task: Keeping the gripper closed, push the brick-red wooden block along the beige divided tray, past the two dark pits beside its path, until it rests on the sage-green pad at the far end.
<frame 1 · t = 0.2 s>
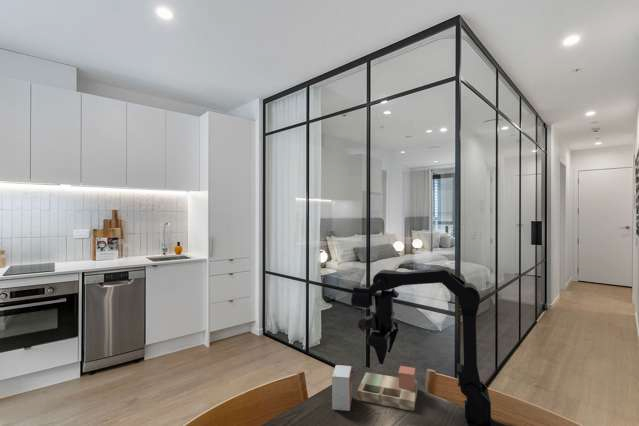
hand: (385, 357, 105), 14 cm above the table, tool pointing down, fingers open, 9 cm apart
small box: (342, 404, 104), on the table
block: (407, 385, 109), point 3 cm above the table, touching beige divided tray
beige divided tray: (388, 394, 109), on the table
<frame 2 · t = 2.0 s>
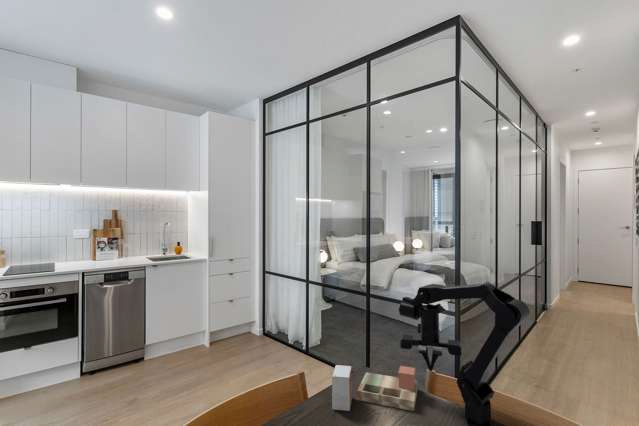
hand: (430, 370, 106), 9 cm above the table, tool pointing down, fingers closed
nothing on the table moved.
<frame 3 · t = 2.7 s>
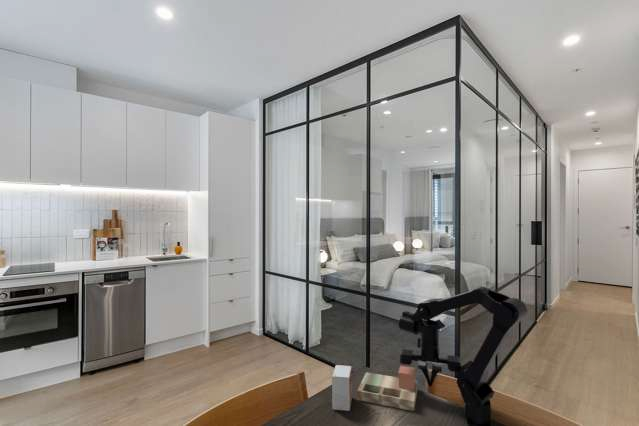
hand: (430, 386, 106), 4 cm above the table, tool pointing down, fingers closed
nothing on the table moved.
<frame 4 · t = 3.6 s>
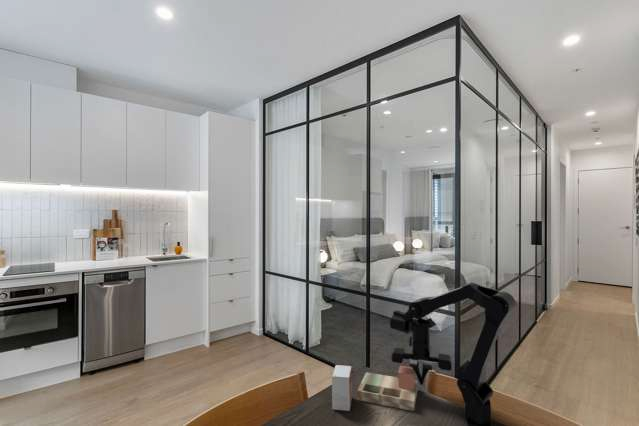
hand: (421, 384, 107), 4 cm above the table, tool pointing down, fingers closed
block: (407, 384, 109), point 3 cm above the table, touching gripper
everything else where it was.
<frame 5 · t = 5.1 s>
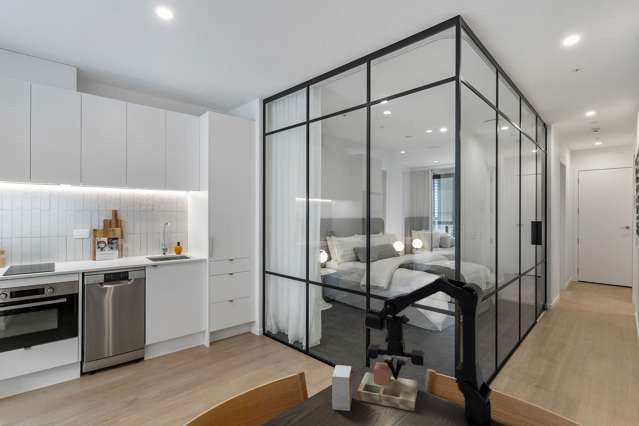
hand: (396, 379, 110), 4 cm above the table, tool pointing down, fingers closed
block: (382, 380, 112), point 3 cm above the table, touching gripper, beige divided tray
everything else where it was.
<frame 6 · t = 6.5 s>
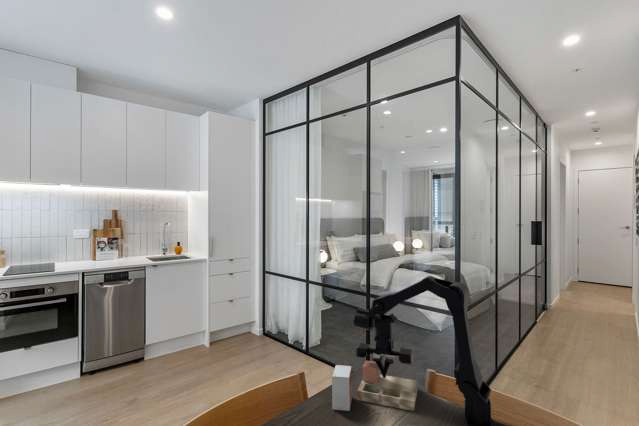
hand: (384, 377, 112), 4 cm above the table, tool pointing down, fingers closed
block: (371, 378, 113), point 3 cm above the table, touching gripper, beige divided tray
everything else where it was.
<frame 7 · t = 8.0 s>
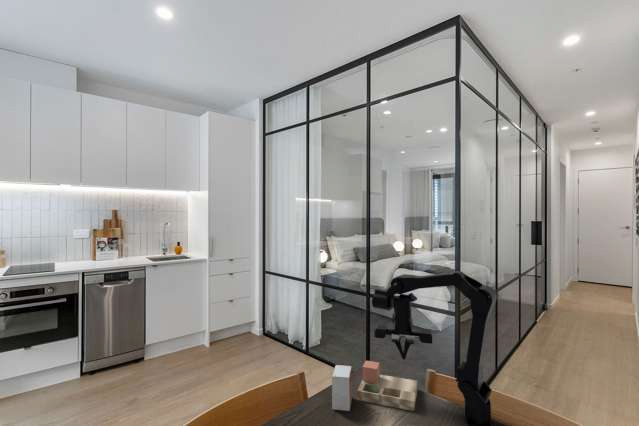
hand: (404, 359, 109), 12 cm above the table, tool pointing down, fingers closed
block: (371, 378, 113), point 3 cm above the table, touching beige divided tray
everything else where it was.
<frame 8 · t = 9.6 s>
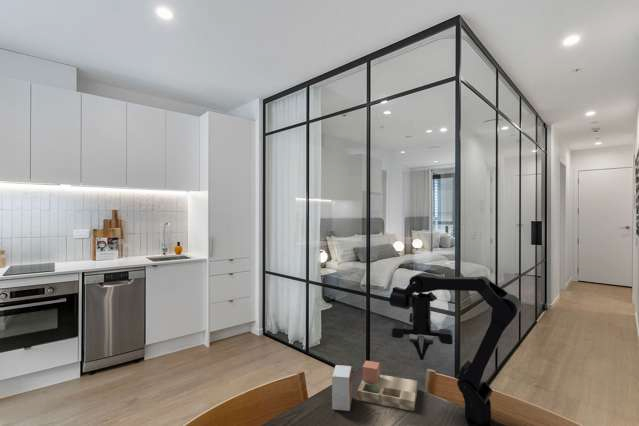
hand: (421, 359, 106), 13 cm above the table, tool pointing down, fingers closed
nothing on the table moved.
at the end: block 0.1 cm from the target spot, point 3.0 cm above the table; block tilted 0°; block moved 12.2 cm from its start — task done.
